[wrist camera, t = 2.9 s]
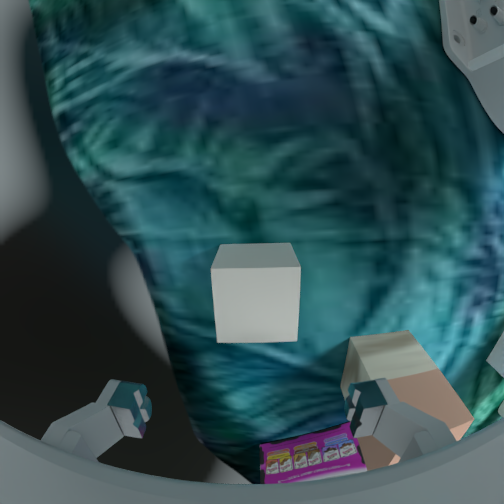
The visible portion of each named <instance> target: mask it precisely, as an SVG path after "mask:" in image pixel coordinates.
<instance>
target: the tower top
mask: <svg viewBox="0 0 504 504" xmlns="http://www.w3.org/2000/svg"><path fill="white" fill-rule="evenodd" d="M387 381H388V382H389V384H390V386H391V387H392V389H393V391H394V393H395V394H396V396H397V398H398V399H399V401H400V402H405V403H407V404H409V405H411V406H413V407H415V408H417V409H419V410H421V411H423V412H425V413H427V414H429V415H431V416H433V417H435V418H437V419H439V420H441V421H443V422H445V423H446V425H447V426H448V428H449V429H450V431H451V433H452V434H453V436H454V437H455V439H456V441H459V440H460V439H461V438H462V436H463V435H464V433H465V432H466V431H467V429H468V428H469V426H470V425H471V423H472V422H473V420H474V418H473V416H472V415H471V413H470V412H469V410H468V409H467V407H466V406H465V405H464V403H463V402H462V400H461V399H460V397H459V396H458V395H457V393H456V392H455V390H454V389H453V388H452V386H451V385H450V384H449V382H448V381H447V379H446V378H445V377H444V375H443V374H442V373H441V371H440V370H439V369H434V370H430V371H426V372H422V373H418V374H413V375H409V376H404V377H399V378H394V379H389V380H387ZM357 439H358V442H359V445H360V448H361V451H362V455H363V458H364V461H365V464H366V468H367V471H369V470H373V469H377V468H381V467H385V466H389V465H392V464H396V463H398V462H399V460H400V457H399V456H398V455H396V454H395V453H394V452H393V451H391V450H390V449H389V448H387V447H386V446H385V445H384V444H382V443H381V442H380V441H379V440H377V439H376V438H375V437H374V436H373V435H370V436H364V437H358V438H357Z"/></svg>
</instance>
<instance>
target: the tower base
mask: <svg viewBox="0 0 504 504" xmlns="http://www.w3.org/2000/svg"><path fill="white" fill-rule="evenodd" d="M434 369H438V367H437V366H436V365H435V363H434V362H433V361H432V359H431V358H430V357H429V355H428V354H427V353H426V352H425V350H424V349H423V348H422V347H421V345H420V344H419V343H418V341H417V340H416V339H415V338H414V336H413V335H412V334H411V333H410V332H409V330H405V331H398V332H391V333H383V334H375V335H366V336H357V337H350V340H349V346H348V351H347V356H346V361H345V366H344V371H343V376H342V380H341V385H340V387H341V390H342V393H343V396H344V399H345V400H346V397H348V396H349V392H348V388H349V385H350V383H355V382H362V381H368V380H374V379H379V378H386V379H387V380H389V379H394V378H399V377H404V376H409V375H413V374H418V373H422V372H426V371H430V370H434Z"/></svg>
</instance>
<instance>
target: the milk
mask: <svg viewBox="0 0 504 504" xmlns="http://www.w3.org/2000/svg"><path fill="white" fill-rule="evenodd" d="M486 361H487V362H488V363H489V364H490V365H491V366H492V367H493V368H494V369H495V370H496V371H497V372H498V373H499V374H500V375H501V376H502V377H503V378H504V331H503V333H502V335H501V337H500V338H499V340H498V342H497V343H496V345H495V347H494V348H493V350H492V352H491V353H490V355H489V356H488V358H487V360H486Z"/></svg>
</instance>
